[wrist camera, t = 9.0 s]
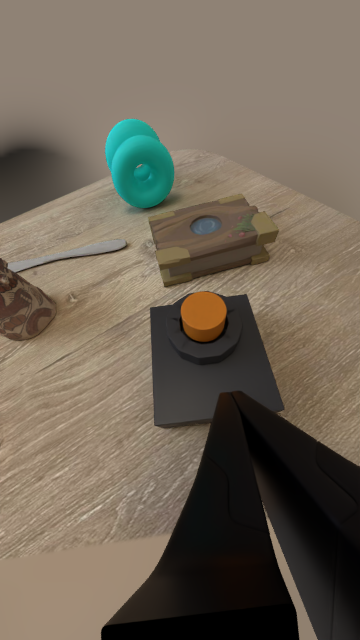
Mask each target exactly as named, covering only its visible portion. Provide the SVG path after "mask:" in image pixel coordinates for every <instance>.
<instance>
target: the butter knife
mask: <svg viewBox="0 0 360 640" xmlns="http://www.w3.org/2000/svg"><path fill="white" fill-rule="evenodd" d="M125 246H126V241H125V240H123V239H116V240H110V241H105V242H101V243H96V244H92V245H88V246H84V247H81V248H77V249H73V250H69V251H65V252H61V253H57V254H52V255H48V256H44V257H39V258H33V259H28V260H23V261H17V262H12V263H8V269H10V270H12V271H13V272H17V271H20V270H23V269H26V268H29V267H32V266H35V265H39V264H43V263H46V262H49V261H53V260H58V259H63V258H68V257H75V256H83V255H91V254H97V253H103V252H109V251H113V250H118V249H121V248H123V247H125Z"/></svg>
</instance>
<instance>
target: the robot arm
mask: <svg viewBox="0 0 360 640" xmlns="http://www.w3.org/2000/svg"><path fill="white" fill-rule="evenodd" d="M261 499H262V500H261ZM262 502H263V504H264V507H265V509H266V512H267V514H268V517H269V519H270V522H271V524H272V527H273V529H274V532H275V534H276V537H277V539H278V542H279V544H280V547H281V549H282V552H283V554H284V557H285V559H286V562H287V564H288V567H289V569H290V572H291V574H292V577H293V579H294V581H295V584H296V587H297V589H298V591H299V594H300V596H301V599H302V601H303V604H304V607H305V609H306V612H307V614H308V617H309V619H310V622H311V624H312V627H313V629H314V632H315V634H316V636H317V639H318V640H360V467H359V466H357V465H356V464H354V463H352V462H350V461H349V460H347V459H346V458H344V457H342V456H341V455H339V454H338V453H336V452H335V451H333V450H331V449H330V448H328V447H327V446H325V445H324V444H322V443H321V442H319V441H318V442H317V440H316V439H314V438H313V437H311V436H310V435H308V434H307V433H305V432H304V431H302V430H301V429H299V428H298V427H296V426H294V425H293V424H291V423H290V422H288V421H287V420H285V419H284V418H282V417H281V416H279V415H278V414H276V413H275V412H273V411H272V410H270V409H268V408H267V407H265V406H264V405H262V404H261V403H259V402H258V401H256V400H255V399H253V398H252V397H250V396H249V395H247V394H246V393H244V392H243V391H240V390H239V391H232V392H231V393H230V392H223V393H220V394H219V397H218V401H217V404H216V408H215V412H214V415H213V419H212V423H211V426H210V430H209V433H208V437H207V441H206V444H205V448H204V451H203V455H202V458H201V462H200V465H199V469H198V472H197V475H196V478H195V481H194V483H193V486H192V488H191V491H190V493H189V496H188V498H187V501H186V503H185V505H184V507H183V510H182V512H181V514H180V517H179V519H178V521H177V523H176V526H175V528H174V530H173V533H172V535H171V537H170V540H169V542H168V545H167V546H166V549H165V551H164V553H163V555H162V557H161V559H160V561H159V562H158V564H157V566H156V567H155V569H154V571H153V572H152V573H151V575H150V576H149V578H148V579H147V580H146V581H145V583H143V584H142V586H141V587H140V588H139V589H138V590H137V591H136V592H135V593H134V594H133V595H132V596H131V597H130V598H129V600H128V601H127V602H126V603H125V604H124V605H123V606H122V607H121V608H120V609H119V610H118V611H117V613H116V614H115V615H114V616H113V617H112V618H111V619H110V620H109V621H108V622H107V623H106V624H105V626H104V627H103V628H102V630H101V640H299V633H298V622H297V613H296V609H295V607H294V604H293V602H292V599H291V597H290V594H289V592H288V589H287V587H286V585H285V582H284V579H283V577H282V574H281V572H280V569H279V567H278V563H277V559H276V557H275V553H274V549H273V545H272V541H271V538H270V533H269V529H268V525H267V520H266V516H265V512H264V508H263V504H262Z"/></svg>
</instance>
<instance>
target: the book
mask: <svg viewBox="0 0 360 640" xmlns="http://www.w3.org/2000/svg"><path fill="white" fill-rule="evenodd" d="M148 219H149V224H150V228H151V232H152V236H153V240H154V243H155V245H156V248H157V251H155V253H156V258H157V260H158V264H159V267H160V272H161V276H162V279H163V283H164V287H166V286H169V285H172V284H176V283H183V282H187V281H191V280H192V278H196V277H200V276H203V275H207V274H211V273H215V272H219V271H222V270H226V269H230V268H234V267H237V266H241V265H245V264H249V263H251V265H255V264H259V263H262V262H266V261H268V259H269V256H270V255H269V253H268V252H267V251H266V249H265V248H264V246H263V245H264V244H268V243H272V242H275V239H276V237H277V234H278V231H279V229H278V228H277V226H276V225H275V224H274V223H273V221H272V220H271V219H270V218H269V216H268V215H267V214H266V212H265V211H263V212H260V213H259V212H258V209H257V207H256V206H249V204H248V202H247V201H246V199H245V197H244V196H243V194H238V195H234V196H230V197H226V198H222V199H218V200H217V201H212V202H208V203H204V204H199V205H195V206H191V207H187V208H183V209H179V210H175V211H170V212H166V213H162V214H159V215H155V216H151V217H148Z"/></svg>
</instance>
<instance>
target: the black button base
mask: <svg viewBox="0 0 360 640" xmlns="http://www.w3.org/2000/svg"><path fill="white" fill-rule="evenodd" d="M204 292H209V291H204ZM211 293H212V292H211ZM192 294H194V293H190V294H187V295H186V296H184V297H183V298H181V299H180V300H178V301H177V302H175V303H174V304H173V305H166V306H159V307H152V308H150V318H151V345H152V372H153V399H154V425H155V426H158V427H161V428H171V427H180V426H188V425H196V424H204V423H212V419H213V415H214V412H215V408H216V404H217V401H218V397H219V394H220V393H223V392H230V393H231V392H232V391H239V390H240V391H243V392H244V393H246V394H247V395H249V396H250V397H252V398H253V399H255V400H256V401H258V402H259V403H261V404H262V405H264V406H265V407H267V408H268V409H270V410H272V411H273V412H275V413H277V412H280V411H283V410H285V409H284V406H283V403H282V400H281V397H280V394H279V391H278V388H277V385H276V382H275V379H274V376H273V373H272V370H271V366H270V363H269V360H268V357H267V354H266V351H265V348H264V345H263V342H262V339H261V336H260V333H259V330H258V327H257V324H256V321H255V318H254V315H253V312H252V309H251V306H250V303H249V300H248V297H247V294H244V295H237V296H230V297H225V296H223V295H219V294H216V293H214V294H216V295H218V296H219V297H220V298H221V299H222V300H223V301H224V303H225V305H226V309H227V312H226V318H225V324H224V329H223V331H222V333H221V334H220V336H219V337H217V338H216V339H214V340H212V341H209V342H199V341H195V340H193V339H191V338H190V337H189V336H188V335H187V334H186V333H185V331H184V328H183V322H182V317H181V306H182V304H183V302H184V301H185V299H186V298H187V297H189V296H190V295H192Z"/></svg>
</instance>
